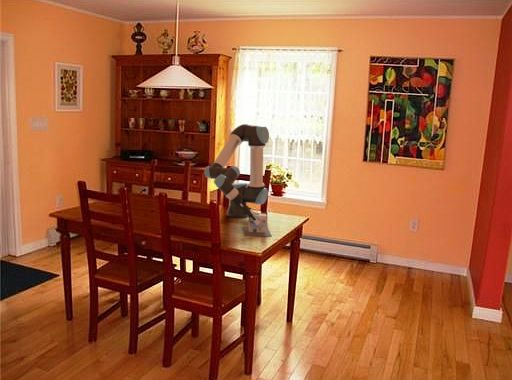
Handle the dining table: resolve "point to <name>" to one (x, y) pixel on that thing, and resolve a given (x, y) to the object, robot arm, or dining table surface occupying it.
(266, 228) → the mat
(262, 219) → the light bulb box
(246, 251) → the dining table surface
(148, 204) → the dining table surface
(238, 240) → the dining table surface
